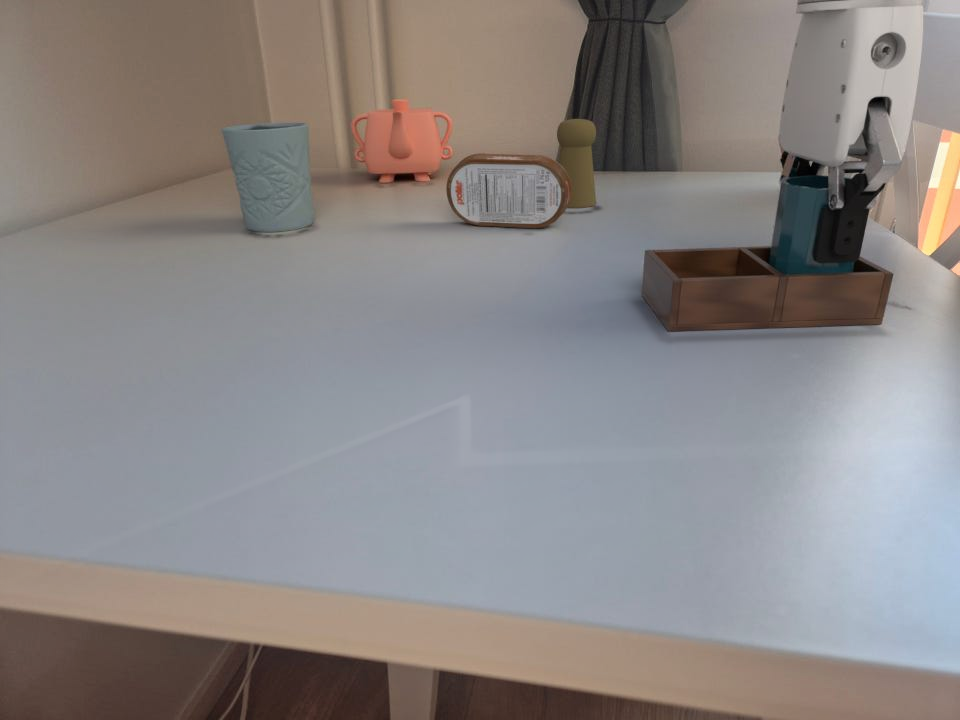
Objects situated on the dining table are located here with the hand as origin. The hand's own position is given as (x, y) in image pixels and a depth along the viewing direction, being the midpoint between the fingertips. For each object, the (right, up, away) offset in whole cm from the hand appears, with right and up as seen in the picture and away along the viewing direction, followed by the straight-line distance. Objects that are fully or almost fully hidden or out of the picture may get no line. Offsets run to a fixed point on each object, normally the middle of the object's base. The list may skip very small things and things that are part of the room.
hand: (813, 247), depth 53 cm
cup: (0, -3, +1) cm, 3 cm away
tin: (-23, +7, +30) cm, 38 cm away
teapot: (-39, +22, +64) cm, 78 cm away
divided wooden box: (-4, -5, +2) cm, 6 cm away
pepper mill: (-13, +13, +41) cm, 45 cm away
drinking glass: (-52, +9, +34) cm, 63 cm away
